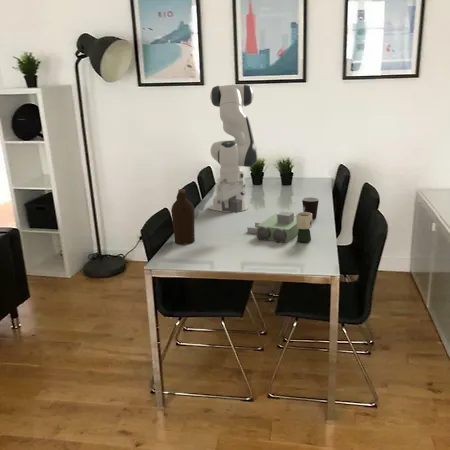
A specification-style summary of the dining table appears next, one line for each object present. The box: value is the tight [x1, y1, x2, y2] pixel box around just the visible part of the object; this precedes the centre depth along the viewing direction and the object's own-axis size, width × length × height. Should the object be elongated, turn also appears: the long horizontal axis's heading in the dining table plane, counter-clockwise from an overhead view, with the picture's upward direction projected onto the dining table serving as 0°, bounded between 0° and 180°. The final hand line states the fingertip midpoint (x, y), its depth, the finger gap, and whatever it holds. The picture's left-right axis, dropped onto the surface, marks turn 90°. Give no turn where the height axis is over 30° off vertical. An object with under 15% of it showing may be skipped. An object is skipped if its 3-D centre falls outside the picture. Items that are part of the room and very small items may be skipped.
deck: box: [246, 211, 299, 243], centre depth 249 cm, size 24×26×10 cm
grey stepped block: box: [221, 196, 242, 213], centre depth 241 cm, size 8×5×6 cm, turn 61°
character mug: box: [295, 211, 313, 243], centre depth 234 cm, size 11×7×13 cm, turn 179°
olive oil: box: [170, 188, 196, 246], centre depth 238 cm, size 11×11×25 cm
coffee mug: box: [301, 196, 320, 220], centre depth 272 cm, size 12×9×10 cm
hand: (230, 205), depth 242 cm, fingers closed on grey stepped block, 5 cm apart
